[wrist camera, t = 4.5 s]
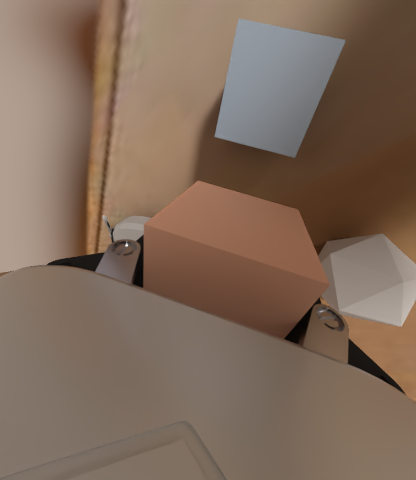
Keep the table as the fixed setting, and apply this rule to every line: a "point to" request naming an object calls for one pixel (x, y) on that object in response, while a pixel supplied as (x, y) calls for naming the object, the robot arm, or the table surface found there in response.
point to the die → (369, 279)
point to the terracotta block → (234, 258)
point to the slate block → (274, 85)
